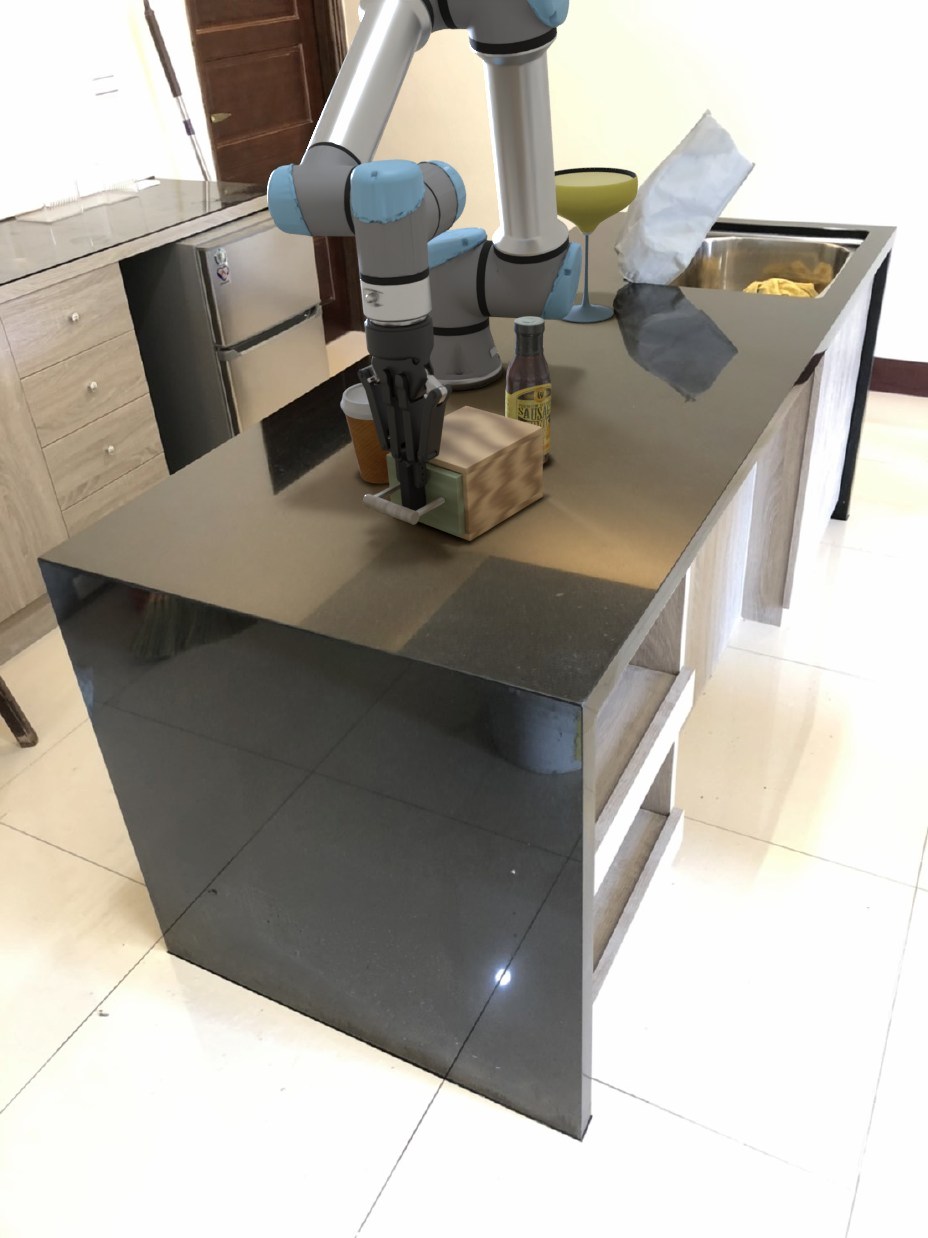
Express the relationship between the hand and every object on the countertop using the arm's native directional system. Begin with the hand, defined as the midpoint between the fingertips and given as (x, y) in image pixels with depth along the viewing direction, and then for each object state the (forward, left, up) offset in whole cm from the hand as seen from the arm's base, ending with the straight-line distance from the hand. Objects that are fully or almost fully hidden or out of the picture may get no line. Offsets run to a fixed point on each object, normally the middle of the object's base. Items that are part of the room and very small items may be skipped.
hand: (414, 507), depth 123 cm
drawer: (0, +5, -3) cm, 6 cm away
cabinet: (0, +10, -4) cm, 11 cm away
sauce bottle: (-2, +25, -4) cm, 25 cm away
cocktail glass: (-34, +84, -4) cm, 91 cm away
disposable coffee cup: (-16, +10, -4) cm, 19 cm away
